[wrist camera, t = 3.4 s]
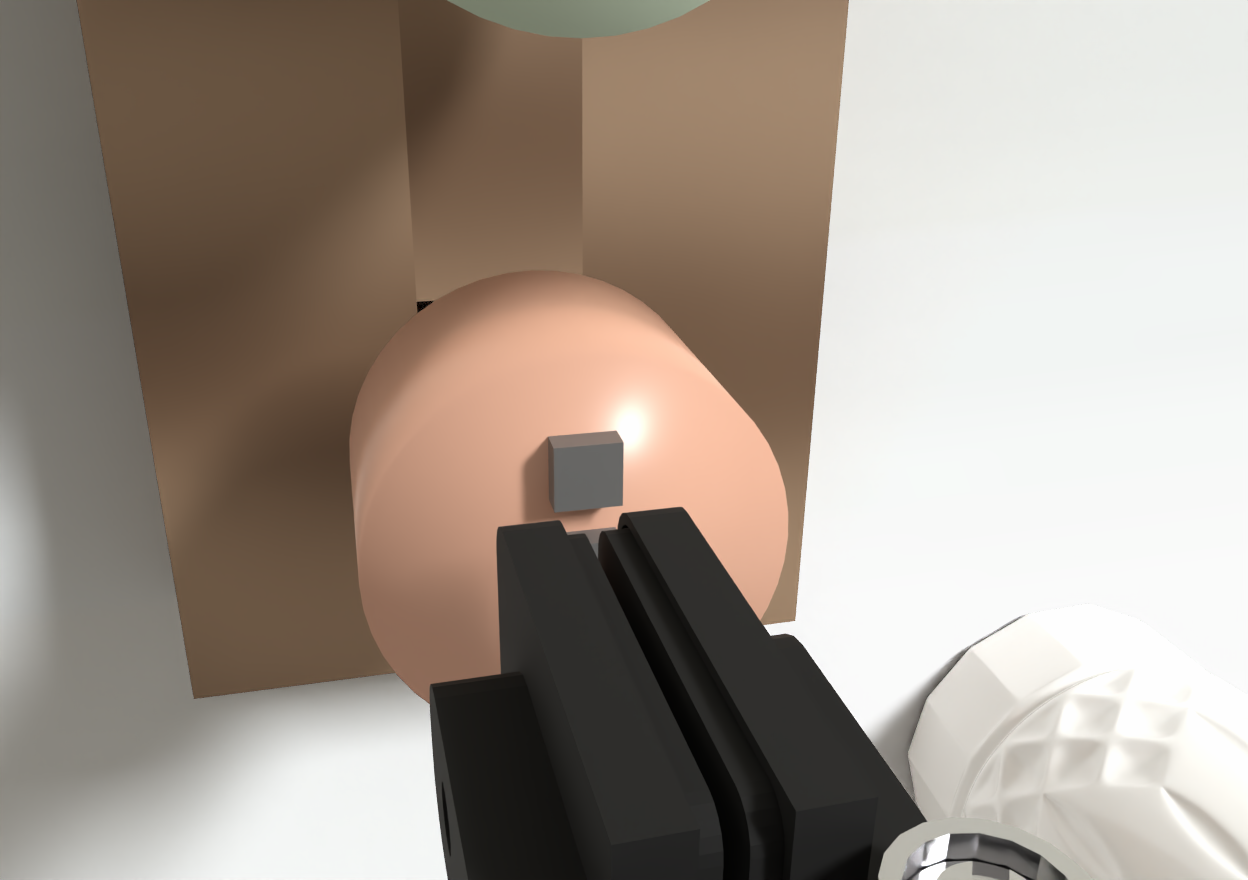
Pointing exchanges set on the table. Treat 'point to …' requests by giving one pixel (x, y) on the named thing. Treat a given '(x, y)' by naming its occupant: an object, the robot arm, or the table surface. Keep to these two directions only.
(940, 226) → the table surface
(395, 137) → the button board
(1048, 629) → the white cup
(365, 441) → the plunger
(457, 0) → the plunger
